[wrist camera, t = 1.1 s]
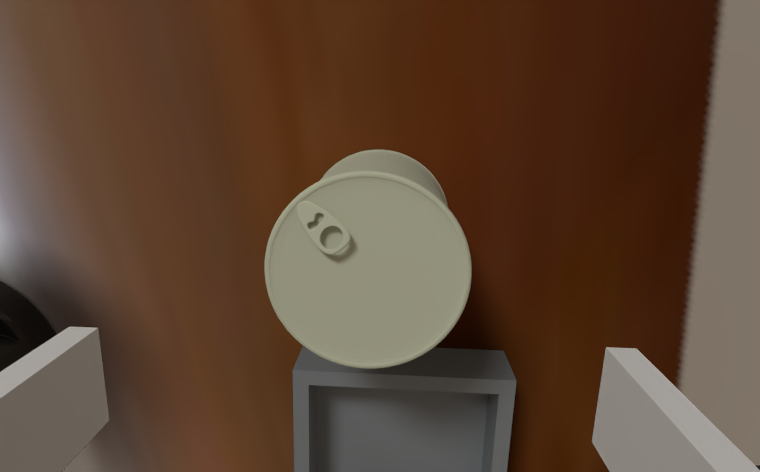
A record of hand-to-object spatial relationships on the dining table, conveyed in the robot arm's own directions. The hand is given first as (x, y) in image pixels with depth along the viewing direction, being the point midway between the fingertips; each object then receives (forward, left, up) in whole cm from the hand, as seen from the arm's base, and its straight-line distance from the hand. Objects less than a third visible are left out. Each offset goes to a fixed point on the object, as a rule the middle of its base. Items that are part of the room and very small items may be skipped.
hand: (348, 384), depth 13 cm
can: (0, 0, -21) cm, 21 cm away
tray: (+2, -16, -20) cm, 26 cm away
